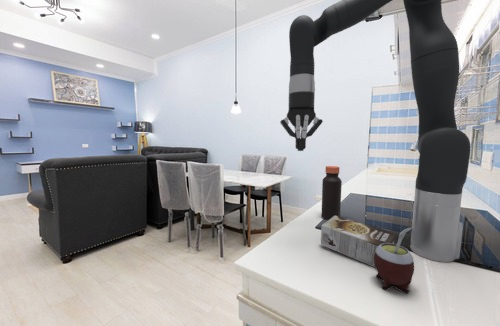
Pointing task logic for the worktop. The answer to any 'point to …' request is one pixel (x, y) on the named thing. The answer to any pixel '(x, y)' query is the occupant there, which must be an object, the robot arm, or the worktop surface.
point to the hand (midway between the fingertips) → (300, 150)
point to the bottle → (331, 193)
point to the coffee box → (354, 238)
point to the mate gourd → (394, 264)
